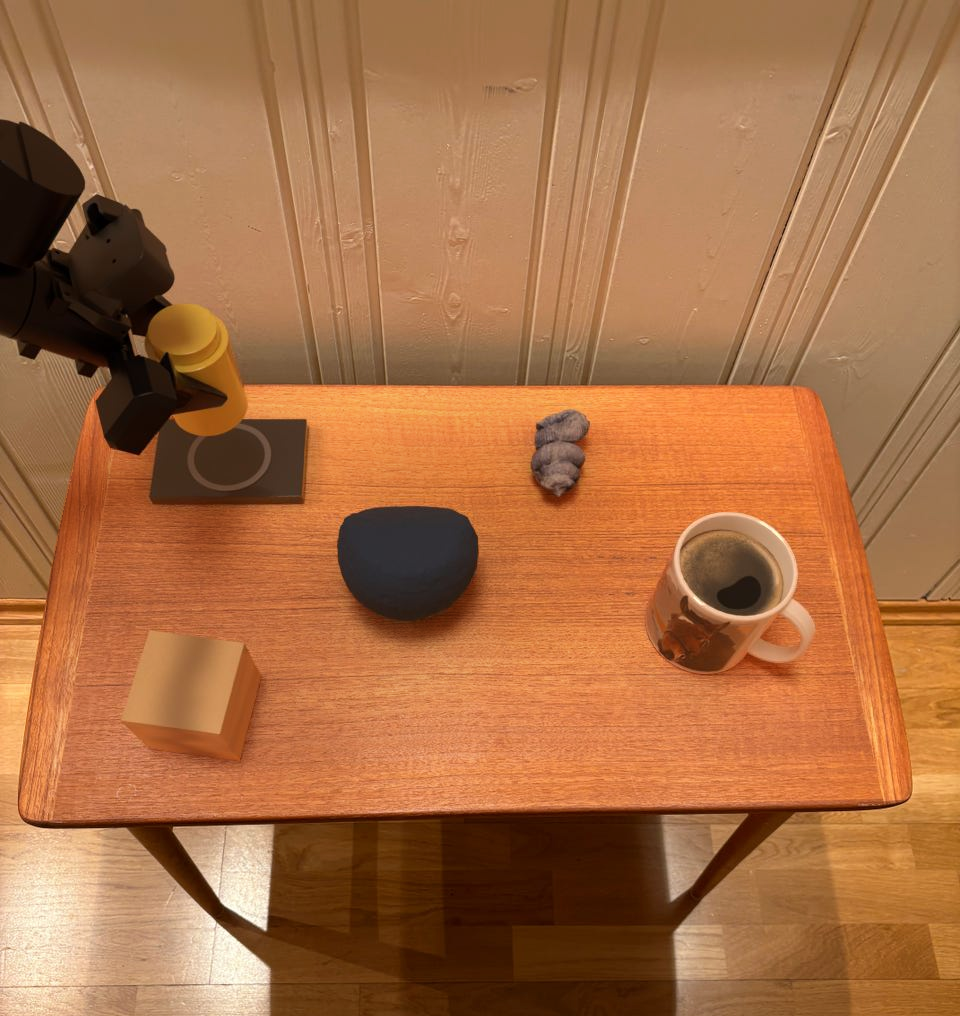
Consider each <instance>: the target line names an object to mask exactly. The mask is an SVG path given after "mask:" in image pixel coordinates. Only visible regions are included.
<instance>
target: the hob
mask: <svg viewBox="0 0 960 1016" xmlns="http://www.w3.org/2000/svg"><path fill="white" fill-rule="evenodd" d="M307 420H308V419H307V418H243V419H242V421H241V422H240V423H239V424H238V425H237V426H236V427H234V428H233V429H231V430H229V431H227V432H225V433H222V434H219V435H214V436H199V435H195V434H191V433H189V432H187V431H185V430H184V429H182V428H181V427H180V426H179V425H178V424H177V423H176V421H175V420H174V418H169V419H168V420H167V422H166V423H165V424H164V425H163V427H162V428H161V429H160V430H159V432H158V433H157V440H156V446H155V453H154V460H153V467H152V474H151V480H150V488H149V494H148V498H149V500H150V502H151V504H152V505H246V504H249V505H250V504H252V505H253V504H260V505H261V504H273V505H274V504H304V503H305V501H304V500H305V485H306V484H305V483H306V467H307V454H308V453H307V452H308V436H309V424H308V421H307Z"/></svg>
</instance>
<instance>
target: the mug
mask: <svg viewBox="0 0 960 1016" xmlns="http://www.w3.org/2000/svg"><path fill="white" fill-rule="evenodd" d="M798 581H799V569H798V563H797V560H796V556H795V554H794V552H793V550H792V547H791V546H790V544H789V543H788V541H787V540H786V539H785V538H784V536H783V535H781V533H780V532H779V531H777V529H775V528H774V527H773V526H772V525H770V524H769V523H767V522H765V521H763V520H762V519H760V518H757V517H755V516H752V515H749V514H746V513H742V512H736V511H735V512H733V511H721V512H720V511H719V512H715V513H710V514H708V515H704V516H701V517H700V518H697V520H695V521H692V523H690V524H689V525H688V526H687V527H686V528H685V529H684V531H682V532H681V534H680V536H679V538H678V540H677V541H676V543H675V545H674V547H673V549H672V552H671V554H670V556H669V558H668V560H667V562H666V564H665V566H664V569H663V571H662V573H661V575H660V577H659V579H658V581H657V583H656V585H655V587H654V590H653V592H652V594H651V596H650V597H649V600H648V603H647V606H646V607H645V608H646V609H645V616H644V621H645V622H644V623H645V628H646V632H647V635H648V638H649V640H650V642H651V644H652V646H653V648H654V649H655V650H656V651H657V652H658V654H659V655H661V656H662V658H663V659H665V661H667V662H668V663H670V664H671V665H673V666H674V667H677V668H678V669H681V670H683V671H686V672H689V673H694V674H699V675H700V674H702V675H703V674H704V675H710V674H711V675H712V674H718V673H722V672H725V671H727V670H730V669H732V668H733V667H736V665H738V664H739V663H740V662H742V661H743V660H744V658H745V657H746V656H747V655H748V654H749V655H751V656H753V657H755V658H757V659H758V660H762V661H765V662H768V663H777V664H780V663H781V664H782V663H783V664H784V663H791V662H795V661H798V660H799V659H802V657H803V656H804V655H805V654H806V653H807V652H808V650H809V648H810V646H811V645H812V643H813V641H814V640H815V636H816V625H815V622H814V620H813V618H812V616H811V614H810V612H809V611H808V609H806V608H805V607H804V605H802V603H800V602H799V601H797V600H796V599H794V598H793V596H794V594H795V592H796V589H797V586H798ZM779 615H780V616H782V617H783V618H785V619H786V620H787V621H788V622H790V623H791V624H792V625H793V626H794V627H795V628H796V630H797V631H798V634H799V637H800V642H799V643H796V644H793V645H787V646H786V645H779V644H774V643H771V642H769V641H766V640H765V639H762V638H761V637H762V636H763V635H764V634H765V632H766V631H767V630H768V628H769V627H770V626H771V625H772V624H773V622H774V621H775V620H776V619H777V618H778V616H779Z"/></svg>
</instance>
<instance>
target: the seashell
mask: <svg viewBox="0 0 960 1016" xmlns="http://www.w3.org/2000/svg"><path fill="white" fill-rule="evenodd" d="M590 426H591V421H590V420H588V419H587V415H586V414H584V413H582V412H580V411H579V410H576V409H572V408H569V409H568V408H567V409H563V410H562V411H560V412H557V413H552V414H551V415H548V416H545V417H544V418H542V419H541V420H540V421H537V422H536V423H535V430H536V431H537V432H536V433H535V434H534V441H533V443H534V446H535V450H536V451H535V452H534V453H533V454H532V456H531V460H530V469H531V471H532V474H533V475H534V478H535V480H536V482H537V483H538V484H539V485H540V487H542V488H543V489H545V490H546V491H547V492H548V493H551V494H554V495H555V496H556V497H558V498H561V497H562V496H563V495H564V494H566V493H569V492H570V491H572V490H573V489H574V488H575V487H576V485H577V484H578V483H579V481H580V477H581V471H580V469H582V467H583V466H584V464H585V463H586V452H584V450H583V449H582V447H581V446H579V445H577V444H576V443H579V442H581V441H583V440H584V439H585V437H586V436H587V435H588V433H589V429H590Z"/></svg>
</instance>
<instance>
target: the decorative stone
mask: <svg viewBox="0 0 960 1016" xmlns="http://www.w3.org/2000/svg"><path fill="white" fill-rule="evenodd" d="M336 548H337V553H336V554H337V564H338V567H339V571H340V575H341V577H342V579H343V582H344V584H345V586H346V587H347V590H348V591H349V592H350V593H351V595H352V596H353V597H354V599H356V601H357V602H358V603H360V605H362V606H363V607H364V608H366V609H367V610H369V611H371V612H372V613H374V614H376V615H378V616H380V617H383V618H385V619H388V620H393V621H396V622H402V623H403V622H404V623H406V622H409V623H410V622H416V621H422V620H425V619H428V618H430V617H433V616H436V615H437V614H438V615H439V614H440V613H442V612H444V611H446V610H448V609H449V608H450V607H451V606H453V605H454V604H455V603H456V602H457V601H458V600H460V599H461V597H463V594H464V593H465V592H466V591H467V589H468V588H469V587H470V586H471V583H472V581H473V578H474V577H475V574H476V571H477V569H478V561H479V554H480V553H479V551H480V549H479V536H478V534H477V532H476V529H475V528H474V526H473V525H472V523H471V521H470V519H469V517H468V516H467V515H465V514H463V513H460V512H458V511H457V510H455V509H452V508H448V507H439V506H427V505H401V506H399V505H397V506H396V505H394V506H392V505H391V506H375V507H371V508H366V509H363V510H360V511H359V512H352V513H350V514H348V515H346V516H345V517H344V518H343V520H342V524H341V525H339V529H338V536H337V541H336Z"/></svg>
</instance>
